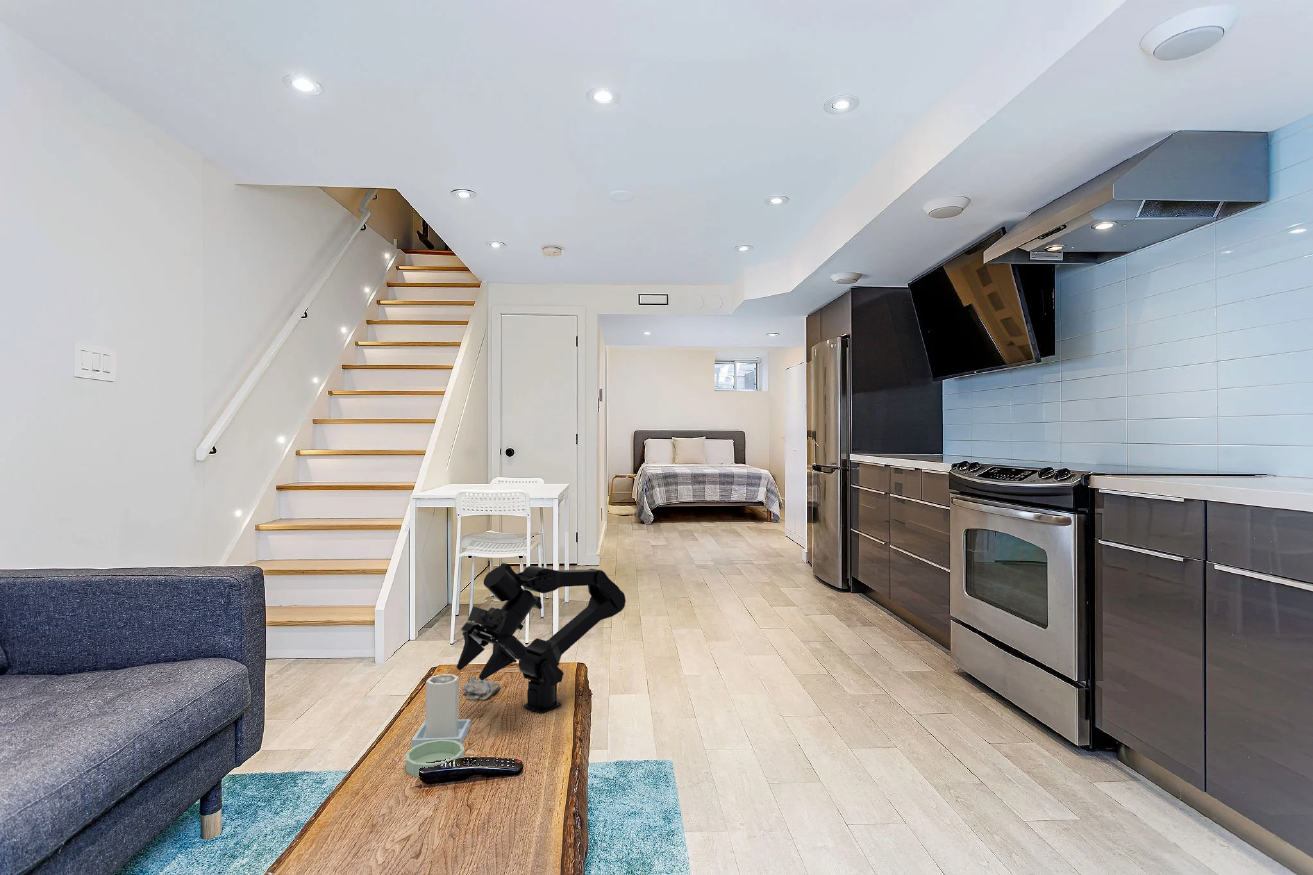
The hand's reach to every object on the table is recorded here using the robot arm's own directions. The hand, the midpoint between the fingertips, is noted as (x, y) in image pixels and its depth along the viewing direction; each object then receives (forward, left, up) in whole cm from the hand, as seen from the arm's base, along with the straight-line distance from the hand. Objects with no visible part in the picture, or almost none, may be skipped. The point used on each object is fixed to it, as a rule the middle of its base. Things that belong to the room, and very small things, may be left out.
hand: (468, 674), depth 139 cm
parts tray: (+6, -1, -12) cm, 14 cm away
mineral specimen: (-16, -17, -13) cm, 27 cm away
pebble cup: (+6, -1, -12) cm, 13 cm away
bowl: (+14, +8, -12) cm, 20 cm away
